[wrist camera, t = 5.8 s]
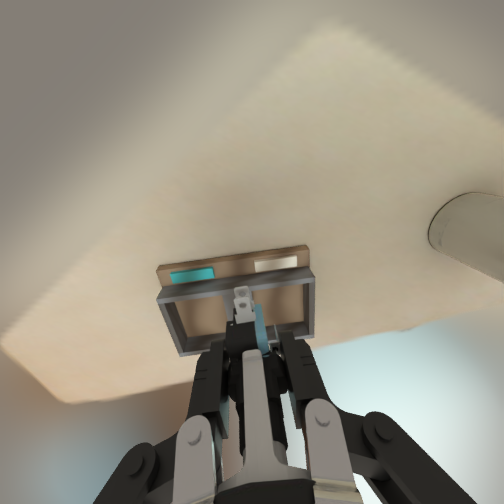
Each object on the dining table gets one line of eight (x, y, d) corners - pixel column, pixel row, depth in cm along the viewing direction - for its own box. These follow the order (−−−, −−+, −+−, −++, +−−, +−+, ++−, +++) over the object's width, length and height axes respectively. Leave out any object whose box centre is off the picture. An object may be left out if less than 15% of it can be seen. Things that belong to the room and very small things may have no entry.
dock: (306, 245, 31) (316, 259, 27) (306, 320, 37) (315, 340, 33) (159, 265, 31) (147, 283, 27) (186, 337, 37) (179, 360, 33)
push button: (195, 288, 12) (67, 727, 3) (288, 272, 12) (456, 667, 3) (221, 363, 15) (199, 695, 6) (295, 351, 15) (388, 665, 6)
